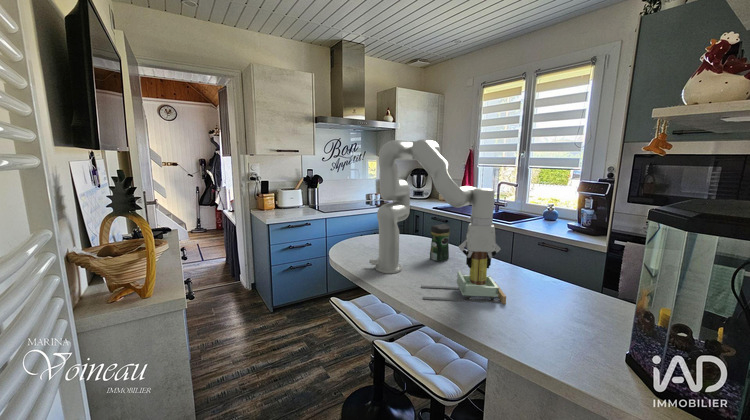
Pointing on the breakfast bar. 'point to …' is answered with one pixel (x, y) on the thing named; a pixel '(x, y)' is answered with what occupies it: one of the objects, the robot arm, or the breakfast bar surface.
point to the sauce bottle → (478, 268)
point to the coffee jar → (440, 242)
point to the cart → (477, 287)
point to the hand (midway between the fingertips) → (478, 266)
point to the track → (500, 295)
